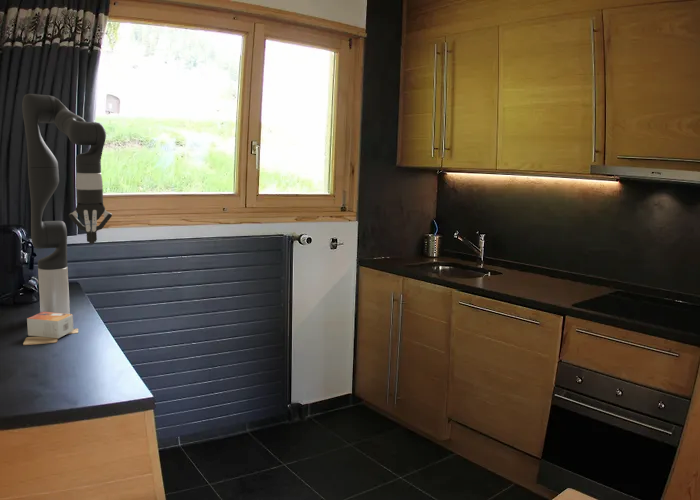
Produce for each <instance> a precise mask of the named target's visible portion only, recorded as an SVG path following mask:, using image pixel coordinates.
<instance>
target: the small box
mask: <svg viewBox="0 0 700 500" xmlns="http://www.w3.org/2000/svg"><path fill="white" fill-rule="evenodd" d="M26 323H27V327H26V328H27V336H28V337H49V338H58V339H60V338H62V337H64V336H65V335H69V334H68V333H70V332H72V331H73V329H74V315H73V314H72V313H70V314H63V313H53V312H41V313H40V312H39V313H36V314H34V315H32V316H30V317H26Z"/></svg>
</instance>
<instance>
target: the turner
mask: <svg viewBox="0 0 700 500" xmlns="http://www.w3.org/2000/svg"><path fill="white" fill-rule="evenodd" d="M72 334H73V335H74V334H79V328H73V331H72V332H70V333H68V334H67V335H72Z"/></svg>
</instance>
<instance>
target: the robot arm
mask: <svg viewBox="0 0 700 500" xmlns="http://www.w3.org/2000/svg"><path fill="white" fill-rule="evenodd" d="M21 109H22V110H21V111H22V115H23V116H22V117H23V118H22V119H23V124H24V131H25V138H26V150H27V170H28V171H27V173H28V183H29V186H28V187H29V194H30V237H31V238H30V239H31V244H32V246H33V248H34V249H38V250H41V249H55V250H54V251H53V252H52V253H50V254H49V255H47V256H44V257H41V258H39V259H38V261H37V270H38V272H37V273H38V289H39V291H38V292H39V306H40V307H39V313H41V312H53V313H63V314H71V312H70V311H71V309H70V290H69V285H70V284H69V272H68V269H69V267H68V230H67V225H66V223H65V222H64V221H62V220H45V221H43V214H44V210H45V208H46V206H47V204H48V202H49V201H50V199H51V198H52V196H53V194H54V193H55V192H56V190H57V188H58V186H59V183H60V174H59V172H60V171H59V162H58V160H57V158H56V156H55V155H54V153H53V152H52V151H51V149H50V148H49V147H48V145H47V144H46V142H45V141H44V138H43V137H42V135H41V130H40V126H39V124H55V126H56V128H57V130H58V131H60V132H61V133H63V134H65V135H66V136H67V137H68V139H69V141H70V143H72V144H73V145H77V146H90V147H89V148H88V151H87V152H82V153H79V154H77V155H76V156H75V157H76V158H75V165H76V169H75V170H76V177H75V188H76V190H75V191H76V207H75V210H73V212H70V213H69V214H68V217H69V218H70V220H71V221H72V222H73V223H74V224H75V225H76V227H77V228H78V229H79V230H81V231H85V233H86V242H87V243H88V244H89V245H91V244H92V245H93V244H95V243H96V242H97V241H98V238H97V237H98V236H97V233H98V231H100V230H102V229H103V228H104V227H105V226H106V225H107V223H108V222H109V220H110V219H111V218H112V216H113V213H111V212H109V211H107V210H106V207H105V205H104V189H103V187H104V185H103V177H102V161H101V160H102V157H103V156H102V155H103V152H104V151H103V150H104V147H105V143H106V139H107V132H106V128H105V127H104V125H103V124H102V123H100V122H96V121H86V120H85V119H84V118H83V117H81V116H80V115H78V114H76V113H74V112H72V111H71V110H69V108H68V107H66V105H64V103H62V102H61V100H60V99H59V98H57V97H55V96H53V95H49V94H47V95H46V94H38V93H26V94H25V95H24V96H23V98H22V107H21ZM78 215H79V216H78ZM102 216H103V218H104V219H102V221H101V222H100V223H99V224H98V225H97V223H98V220H99V219H100V218H101V217H102ZM78 217H80V218H81V220H84V224H85V225H84V224H83V223H82V222H81V221H80V220H79V219H78ZM91 222H92V223H91Z"/></svg>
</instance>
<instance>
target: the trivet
mask: <svg viewBox="0 0 700 500" xmlns="http://www.w3.org/2000/svg"><path fill="white" fill-rule="evenodd" d="M58 340H59V338H49V337H39V336H28V337H27V336H26V337H25V339H24V341H23V343H22V344H23V346H29V345H31V346H32V345H43V344H45V345H46V344H56V343H58Z"/></svg>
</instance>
